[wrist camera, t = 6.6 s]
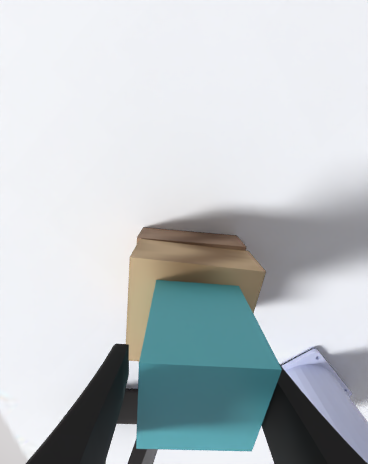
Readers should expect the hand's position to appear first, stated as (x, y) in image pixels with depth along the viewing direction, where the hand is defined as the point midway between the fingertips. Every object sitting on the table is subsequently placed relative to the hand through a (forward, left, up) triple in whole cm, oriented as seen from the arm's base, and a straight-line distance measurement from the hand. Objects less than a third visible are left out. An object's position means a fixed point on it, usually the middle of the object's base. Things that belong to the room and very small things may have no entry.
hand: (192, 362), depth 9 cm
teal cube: (0, 0, -3) cm, 3 cm away
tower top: (0, 0, -6) cm, 6 cm away
